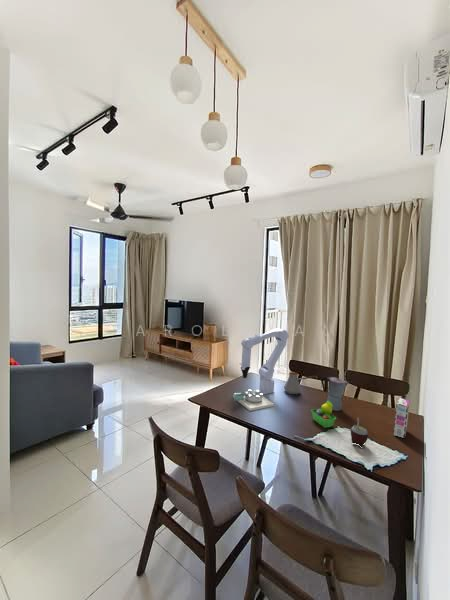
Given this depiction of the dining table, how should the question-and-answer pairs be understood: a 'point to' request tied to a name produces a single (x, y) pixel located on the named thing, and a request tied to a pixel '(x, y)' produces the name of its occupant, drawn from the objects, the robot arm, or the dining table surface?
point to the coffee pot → (294, 383)
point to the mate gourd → (359, 434)
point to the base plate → (256, 404)
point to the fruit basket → (324, 415)
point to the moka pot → (335, 391)
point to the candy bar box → (401, 417)
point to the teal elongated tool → (249, 396)
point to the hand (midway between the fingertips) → (244, 377)
